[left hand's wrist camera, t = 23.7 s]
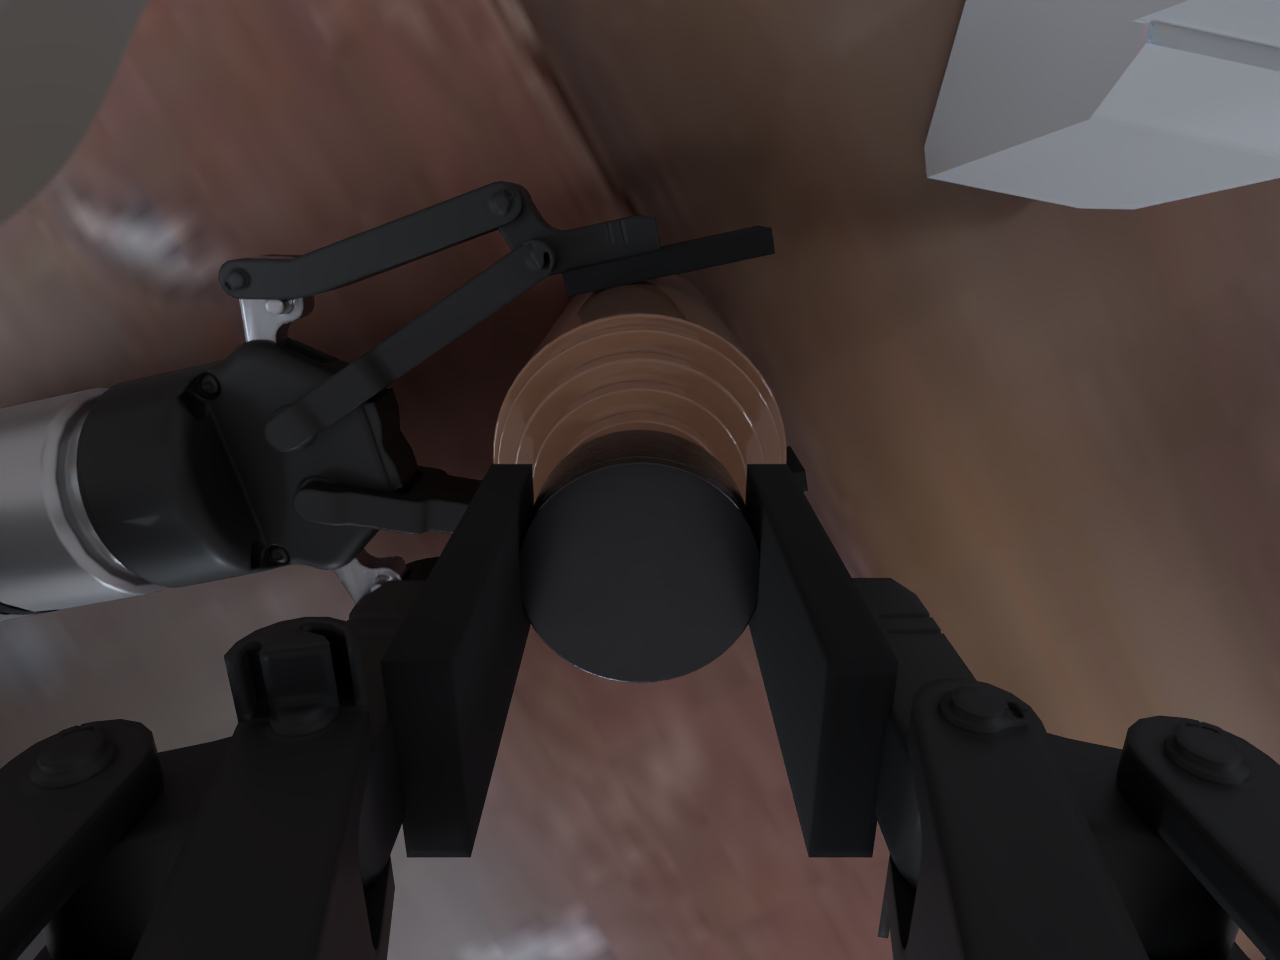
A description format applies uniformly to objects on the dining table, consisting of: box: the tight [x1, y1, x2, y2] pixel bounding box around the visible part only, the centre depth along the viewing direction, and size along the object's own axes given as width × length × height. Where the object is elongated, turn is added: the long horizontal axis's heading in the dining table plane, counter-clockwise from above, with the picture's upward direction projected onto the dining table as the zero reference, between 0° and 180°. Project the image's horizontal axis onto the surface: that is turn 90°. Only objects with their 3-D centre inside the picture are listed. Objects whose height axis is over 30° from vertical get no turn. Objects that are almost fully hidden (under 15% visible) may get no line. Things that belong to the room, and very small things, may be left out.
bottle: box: [493, 274, 787, 504], centre depth 23 cm, size 7×7×20 cm
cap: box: [519, 430, 760, 683], centre depth 14 cm, size 4×4×2 cm
